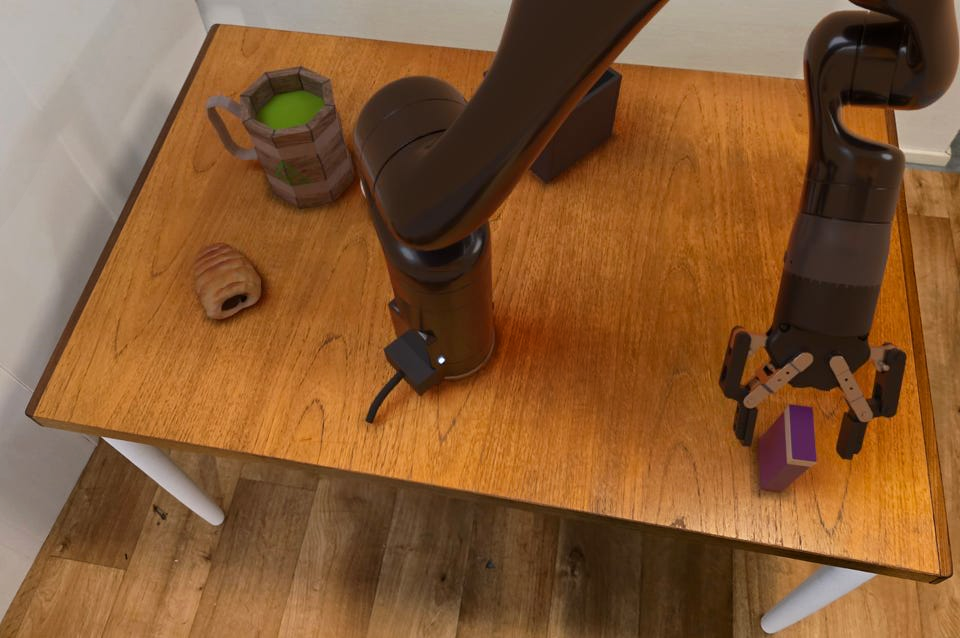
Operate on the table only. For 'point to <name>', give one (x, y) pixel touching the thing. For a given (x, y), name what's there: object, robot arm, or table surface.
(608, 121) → the waste bin
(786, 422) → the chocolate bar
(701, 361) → the table surface
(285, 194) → the mug
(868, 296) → the robot arm
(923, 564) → the table surface
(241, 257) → the pastry
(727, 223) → the table surface
